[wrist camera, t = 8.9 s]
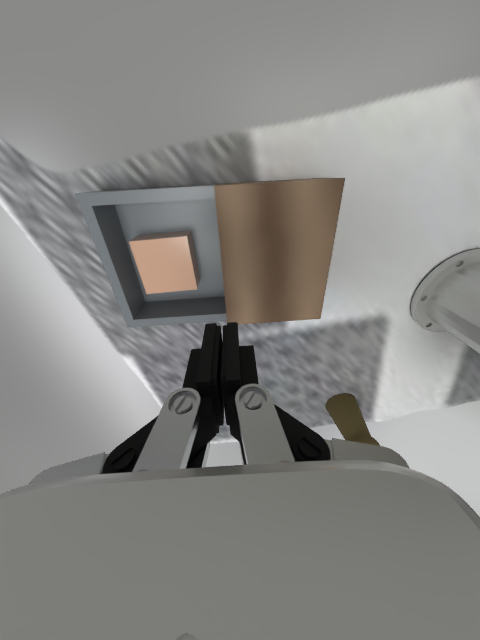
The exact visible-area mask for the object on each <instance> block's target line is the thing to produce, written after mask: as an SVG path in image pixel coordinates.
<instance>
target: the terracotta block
mask: <svg viewBox="0 0 480 640" xmlns="http://www.w3.org/2000/svg"><path fill="white" fill-rule="evenodd" d="M129 244H130V247H131V250H132V253H133V256H134V259H135V262H136V264H137V267H138V270H139V273H140V276H141V279H142V282H143V285H144V288H145V291H146V294H153V293H164V292H174V291H185V290H196V289H198V285H199V281H200V277H199V272H198V266H197V261H196V256H195V250H194V245H193V240H192V234H191V230H189V231H178V232H168V233H157V234H146V235H138V236H137V237H135V238H133V239H132V240H130V241H129Z"/></svg>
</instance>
